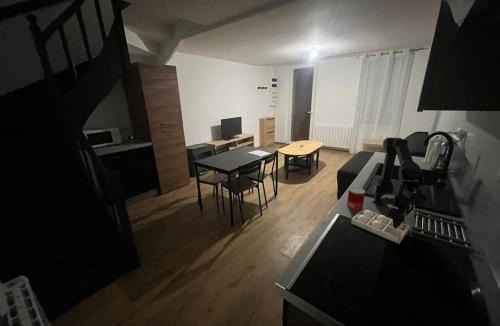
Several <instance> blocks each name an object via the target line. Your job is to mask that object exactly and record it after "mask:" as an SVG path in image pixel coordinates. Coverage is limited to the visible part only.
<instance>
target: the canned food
mask: <svg viewBox="0 0 500 326" xmlns="http://www.w3.org/2000/svg"><path fill="white" fill-rule="evenodd" d="M365 194H366V190H365V189H364V188H361V187H355V186H353V187H350V188H349V189H348V193H347V202H346V206H347V208H349V209H352V210H353V211H354V210H355V211H361V210H362V209H363V205H364V203H365V201H364V200H365V196H366V195H365Z"/></svg>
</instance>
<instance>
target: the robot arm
mask: <svg viewBox="0 0 500 326" xmlns="http://www.w3.org/2000/svg"><path fill="white" fill-rule="evenodd" d="M408 141H409V140H408V139H405V138H402V137H386V138H385V139H384V140H383V141H382V142H383V143H382V145H383V150H384V152H385V156H384V161H383V165H382V170H381V176H380V177H379V179H378V180H376V182H375V184H374V186H373V187H372V193H373V195H374V199H373V200H372V201H371V203H372V204H375V205H377V206H381V207H385V206H386V205H391V206H392V207H391V208H390V209H388V211H387V214H386V215H387V216H388V218H390V219H392V220H393V227H394V228H395V229H397V228H398V227H399V226H400V225H401V224H402V223H404V222H405V220H407V219H406V218H407V216H409V214H410V213H411V212H412V211H413V210H414V208H415V207H416V206H423V204H425V203H426V201H427V196H426V194H424V192H423V189H422V188H425V183H426V182H425V177H424V173H423V170H422V169H421V167H420V165H419V164H418V163H417V162H415V161H414V160H413V156H412V154H411V151H410V148H409V142H408ZM396 158H398V161H399V166H400V167H399V168H398V170H397V171H398V172H397V176H398V180H399V184H398V188H397V193H396V195H395V194H394V190H395V189H394V184H393V182H392V177H393V172H394V166H395V162H396ZM421 187H422V188H421ZM395 207H396V208H395Z"/></svg>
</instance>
